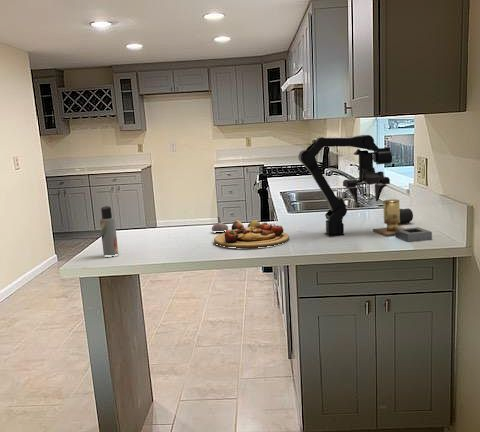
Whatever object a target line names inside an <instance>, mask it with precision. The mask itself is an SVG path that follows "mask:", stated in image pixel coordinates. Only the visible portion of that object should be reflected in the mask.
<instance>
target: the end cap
mask: <svg viewBox="0 0 480 432" xmlns="http://www.w3.org/2000/svg"><path fill="white" fill-rule="evenodd" d="M413 219H414V213H413V210H412V209H411V208H400V223H398V225H405V224H410V223H411V222H412V221H413Z"/></svg>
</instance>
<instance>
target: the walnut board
mask: <svg viewBox="0 0 480 432" xmlns="http://www.w3.org/2000/svg"><path fill="white" fill-rule="evenodd" d="M398 229H406V228H404V227H402V226H398ZM372 232H374V233H376V234H379V235H381V236H383V237H385V238H386V237H395V231H387V227H379V228H372Z"/></svg>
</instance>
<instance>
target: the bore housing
mask: <svg viewBox="0 0 480 432" xmlns="http://www.w3.org/2000/svg"><path fill="white" fill-rule="evenodd" d="M394 237H395V238H398V240H399V239H400V240H402V241H403V242H407V243H413V242H419V241H420V242H421V241H430V240H433V232H432V231H430V230H428V229H425V228H421V227H418V226H415V227H409V228H408V227H407V228H405V229H397V230H395V236H394Z"/></svg>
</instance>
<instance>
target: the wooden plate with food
mask: <svg viewBox="0 0 480 432" xmlns="http://www.w3.org/2000/svg"><path fill="white" fill-rule="evenodd" d="M289 238H290V235H289V233H287V232H285V231H284V228H283V226H282V225H276V224H269V223H268V222H262V223H260V222H259V221H258V220H256V219H253V220H251V221H250V222H249V223H248V224H247V227H244V224H243V223H242V222H241V221H239V220H238V219H237V220H235V221H234V222H233V223H232V224H231V229H228V230H226V232H222V233H219V234H218V235H216V236H215V237H214V239H213V242H214V244H215V243H216V244H218V245H221V246H225V247H236V248H258V247H267V246H274V245H278V244H282V243H284V244H286V243H287V242H286V241H288V240H289V241H290V239H289ZM289 241H288V242H289ZM285 242H286V243H285ZM216 244H215V245H216ZM218 245H217V246H218ZM282 245H283V244H282ZM221 246H220V247H221ZM278 246H279V245H278ZM225 247H224V248H225ZM274 247H275V246H274Z"/></svg>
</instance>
